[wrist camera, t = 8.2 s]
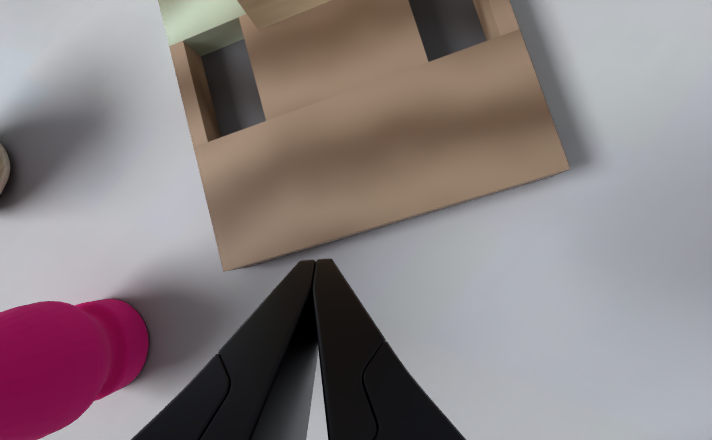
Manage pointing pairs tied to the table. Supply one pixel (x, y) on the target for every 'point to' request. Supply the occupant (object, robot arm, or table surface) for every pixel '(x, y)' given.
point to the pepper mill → (64, 362)
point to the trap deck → (354, 116)
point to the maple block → (275, 10)
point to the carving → (4, 167)
